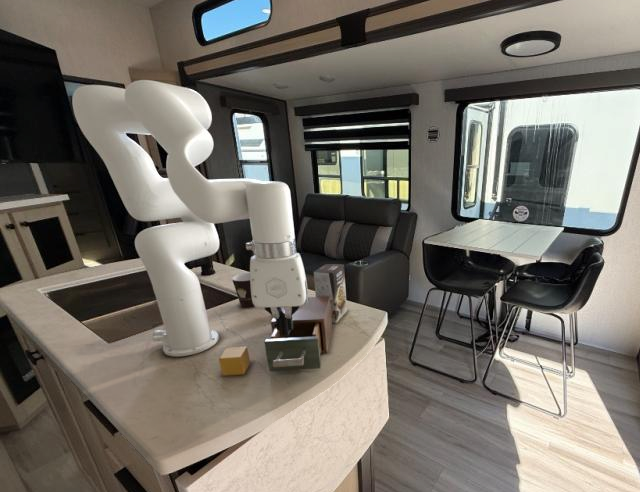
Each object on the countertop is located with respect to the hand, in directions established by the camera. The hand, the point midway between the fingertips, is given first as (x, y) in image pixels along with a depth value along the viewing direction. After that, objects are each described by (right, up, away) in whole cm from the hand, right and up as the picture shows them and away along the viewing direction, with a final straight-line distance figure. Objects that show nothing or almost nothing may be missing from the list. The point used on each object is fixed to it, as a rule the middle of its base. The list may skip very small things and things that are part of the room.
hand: (286, 332), depth 68 cm
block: (-14, -10, +7) cm, 18 cm away
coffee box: (+3, 0, +33) cm, 33 cm away
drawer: (0, -8, +9) cm, 12 cm away
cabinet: (-1, -5, +19) cm, 20 cm away
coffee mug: (-26, +3, +41) cm, 49 cm away
